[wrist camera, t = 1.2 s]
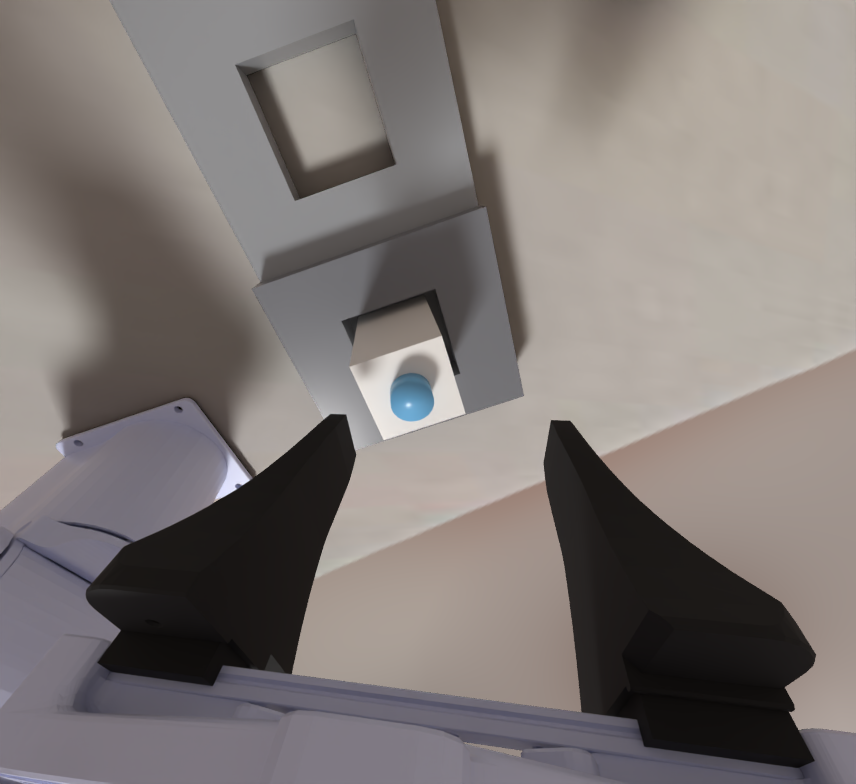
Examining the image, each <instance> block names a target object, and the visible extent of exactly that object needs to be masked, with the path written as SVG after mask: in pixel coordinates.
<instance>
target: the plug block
mask: <svg viewBox="0 0 856 784" xmlns="http://www.w3.org/2000/svg"><path fill="white" fill-rule="evenodd" d="M349 367H350V369H351V371H352V374H353V376H354V378H355V380H356V382H357V384H358V386H359V389H360V391H361V393H362V395H363V397H364V399H365V401H366V404H367V406H368V408H369V410H370V412H371V414H372V416H373V419H374V421H375V423H376V425H377V427H378V429H379V431H380V433H381V436H382V438H383V440H386V439H389V438H392V437H396V436H399V435H402V434H405V433H408V432H411V431H414V430H417V429H420V428H423V427H426V426H430V425H433V424H436V423H439V422H442V421H445V420H448V419H451V418H454V417H457V416H460V415H464V414H466V413H465V410H464V407H463V403H462V400H461V397H460V394H459V390H458V387H457V384H456V381H455V377H454V374H453V371H452V367H451V364H450V361H449V358H448V354H447V351H446V348H445V345H444V341H443V338H442V335H441V333H440V330H439V328H438V326H437V324H436V321H435V319H434V317H433V314H432V312H431V310H430V307H429V305H428V303H427V301H426V298H425V296H424V294H423V295H420V296H417V297H415V298H412V299H409V300H406V301H403V302H400V303H397V304H394V305H391V306H388V307H385V308H382V309H379V310H376V311H374V312H371V313H368V314H365V315H362V316H359V317H358V322H357V327H356V333H355V338H354V344H353V349H352V355H351V360H350V366H349Z"/></svg>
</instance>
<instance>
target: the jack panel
mask: <svg viewBox="0 0 856 784" xmlns="http://www.w3.org/2000/svg"><path fill="white" fill-rule="evenodd" d="M110 2H111V4H112V6H113V8H114V10H115V12H116V13H117V15H118V17H119V19H120V21H121V23H122V25H123V27H124V28H125V30H126V32H127V34H128V36H129V38H130V40H131V41H132V43H133V45H134V47H135V49H136V51H137V53H138V55H139V56H140V58H141V60H142V62H143V64H144V66H145V68H146V69H147V71H148V73H149V75H150V77H151V79H152V81H153V82H154V84H155V86H156V88H157V90H158V92H159V94H160V96H161V97H162V99H163V101H164V103H165V105H166V107H167V109H168V110H169V112H170V114H171V116H172V118H173V120H174V122H175V124H176V125H177V127H178V129H179V131H180V133H181V135H182V137H183V138H184V140H185V142H186V144H187V146H188V148H189V150H190V151H191V153H192V155H193V157H194V159H195V161H196V163H197V165H198V166H199V168H200V170H201V172H202V174H203V176H204V178H205V179H206V181H207V183H208V185H209V187H210V189H211V191H212V193H213V194H214V196H215V198H216V200H217V202H218V204H219V206H220V207H221V209H222V211H223V213H224V215H225V217H226V219H227V220H228V222H229V224H230V226H231V228H232V230H233V232H234V234H235V235H236V237H237V239H238V241H239V243H240V245H241V247H242V248H243V250H244V252H245V254H246V256H247V258H248V260H249V262H250V263H251V265H252V267H253V269H254V271H255V273H256V275H257V276H258V278H259V280H260V282H261V283H259V284H258V285H256V286H255V287H254V288H252V290H253V292H254V294H255V296H256V297H257V299H258V301H259V303H260V305H261V306H262V308H263V310H264V312H265V314H266V315H267V317H268V319H269V321H270V323H271V324H272V326H273V328H274V330H275V332H276V333H277V335H278V337H279V339H280V341H281V343H282V344H283V346H284V348H285V350H286V352H287V353H288V355H289V357H290V359H291V361H292V362H293V364H294V366H295V368H296V370H297V371H298V373H299V375H300V377H301V379H302V380H303V382H304V384H305V386H306V388H307V389H308V391H309V393H310V395H311V397H312V398H313V400H314V402H315V404H316V406H317V408H318V409H319V411H320V413H321V415H322V417H323V418H324V419H325V418H326V417H327V416H329V415H330V414H346V415H347V419H348V423H349V427H350V432H351V436H352V440H353V444H354V448H355V450H359V449H362V448H365V447H368V446H371V445H374V444H377V443H380V442H383V441H386V440H389V439H393V438H396V437H399V436H402V435H405V434H408V433H411V432H414V431H417V430H420V429H423V428H427V427H430V426H433V425H436V424H439V423H442V422H445V421H448V420H451V419H454V418H457V417H461V416H464V415H467V414H470V413H473V412H476V411H479V410H482V409H485V408H488V407H491V406H495V405H498V404H501V403H504V402H507V401H510V400H513V399H516V398H519V397H522V396H524V394H523V389H522V384H521V379H520V374H519V369H518V364H517V359H516V354H515V349H514V344H513V339H512V334H511V329H510V324H509V319H508V314H507V309H506V304H505V299H504V294H503V289H502V284H501V279H500V274H499V269H498V264H497V259H496V254H495V249H494V244H493V239H492V234H491V229H490V224H489V219H488V214H487V209H486V207H484V206H479V205H478V201H477V196H476V191H475V186H474V181H473V177H472V172H471V167H470V162H469V158H468V153H467V148H466V143H465V138H464V134H463V129H462V124H461V119H460V115H459V110H458V105H457V100H456V95H455V91H454V86H453V81H452V76H451V71H450V67H449V62H448V57H447V52H446V48H445V43H444V38H443V33H442V28H441V24H440V19H439V14H438V9H437V5H436V0H110ZM354 34H356V36H357V40H358V43H359V46H360V50H361V53H362V56H363V60H364V63H365V66H366V70H367V73H368V76H369V80H370V83H371V86H372V90H373V93H374V96H375V100H376V103H377V106H378V110H379V113H380V116H381V120H382V123H383V126H384V130H385V133H386V136H387V140H388V143H389V146H390V150H391V153H392V156H393V160H394V163H395V165H394V166H391V167H388V168H385V169H383V170H380V171H377V172H374V173H371V174H369V175H366V176H363V177H360V178H358V179H355V180H352V181H349V182H346V183H344V184H341V185H338V186H335V187H333V188H330V189H327V190H324V191H321V192H319V193H316V194H313V195H310V196H308V197H305V198H302V199H300V198H299V195H298V193H297V191H296V188H295V186H294V184H293V181H292V179H291V177H290V174H289V172H288V170H287V167H286V165H285V163H284V161H283V158H282V156H281V154H280V151H279V149H278V147H277V144H276V142H275V140H274V137H273V135H272V133H271V130H270V128H269V126H268V123H267V121H266V119H265V116H264V114H263V112H262V109H261V107H260V105H259V102H258V100H257V98H256V96H255V93H254V91H253V89H252V86H251V84H250V82H249V79H248V77H247V75H249V74H251V73H254V72H257V71H259V70H262V69H264V68H267V67H270V66H272V65H275V64H278V63H280V62H283V61H285V60H288V59H291V58H293V57H296V56H299V55H301V54H304V53H307V52H309V51H312V50H314V49H317V48H320V47H322V46H325V45H328V44H330V43H333V42H335V41H338V40H341V39H343V38H346V37H349V36H351V35H354ZM423 294H424V296H425V298H426V301H427V303H428V305H429V307H430V310H431V312H432V314H433V317H434V319H435V321H436V324H437V326H438V328H439V330H440V333H441V335H442V338H443V341H444V345H445V348H446V351H447V354H448V358H449V361H450V364H451V367H452V371H453V374H454V377H455V381H456V384H457V387H458V390H459V394H460V397H461V400H462V403H463V407H464V410H465V413H466V414H464V415H460V416H457V417H454V418H451V419H448V420H445V421H442V422H439V423H436V424H433V425H430V426H426V427H423V428H420V429H417V430H414V431H411V432H408V433H405V434H402V435H399V436H396V437H392V438H389V439H386V440H383V438H382V436H381V433H380V431H379V429H378V427H377V425H376V423H375V421H374V419H373V416H372V414H371V412H370V410H369V408H368V406H367V404H366V401H365V399H364V397H363V395H362V393H361V391H360V389H359V386H358V384H357V382H356V380H355V378H354V376H353V374H352V371H351V369H350V367H349V366H350V360H351V355H352V349H353V344H354V338H355V333H356V327H357V322H358V317H359V316H362V315H365V314H368V313H371V312H374V311H376V310H379V309H382V308H385V307H388V306H391V305H394V304H397V303H400V302H403V301H406V300H409V299H412V298H415V297H417V296H420V295H423Z"/></svg>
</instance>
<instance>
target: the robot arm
mask: <svg viewBox="0 0 856 784" xmlns="http://www.w3.org/2000/svg"><path fill="white" fill-rule="evenodd" d="M177 406H179V407H181V408H182V409H183V410H180V409H178V408H177ZM80 441H81V442H80ZM56 448H57V450H58V451H59V452H60V453H62V454H63V455H64V456H65V457H64V458H63V459H62V460H61V461H60V462H58V463H57V464H56V465H55V466H54V467H52V468H51V469H50V470H49V471H48V472H46V473H45V474H44V475H43V476H42V477H40V478H39V479H38V480H37V481H36V482H34V483H33V484H32V485H31V486H30V487H28V488H27V489H26V490H25V491H23V492H22V493H21V494H20V495H19V496H17V497H16V498H15V499H14V500H13V501H11V502H10V503H9V504H8V505H7V506H5V507H4V508H3V509H2V510H1V511H0V784H856V733H850V732H842V731H834V730H827V729H813V728H812V729H802V730H798V728H797V727H796V725H795V723H794V721H793V719H792V717H791V715H790V713H789V712H792V711H794V710H795V708H794V704H793V702H792V700H791V698H790V697H789V695H788V693H787V691H786V689H785V686H787V685H789V684H790V683H791V682H793V681H794V680H796V679H797V678H799V677H800V676H802V675H803V674H804V673H806V672H807V671H808V670H809V669H810V668H811V667H812V666H813V664H814V662H815V657H816V654H815V652H814V651H813V649H812V648H811V646H810V644H809V643H808V641H807V640H806V638H805V636H804V635H803V633H802V631H801V630H800V628H799V626H798V625H797V623H796V622H795V621H794V619H793V618H792V616H791V615H790V613H789V612H788V611H787V609H786V608H785V607H784V605H783V604H782V603H781V602H780V601H778V600H777V599H775V598H773V597H772V596H770V595H769V594H767V593H765V592H764V591H762V590H761V589H759V588H757V587H756V586H754V585H752V584H751V583H749V582H747V581H746V580H744V579H743V578H741V577H739V576H738V575H736V574H735V573H733V572H732V571H730V570H728V569H727V568H726V567H724V566H723V565H721V564H720V563H718V562H717V561H716V560H714V559H713V558H711V557H710V556H708V555H707V554H705V553H704V552H703V551H701V550H700V549H699V548H697V547H696V546H695V545H693V544H692V543H690V542H689V541H688V540H687V539H685V538H684V537H683V536H681V535H680V534H679V533H678V532H676V531H675V530H674V529H672V528H671V527H670V526H669V525H667V524H666V523H665V522H664V521H663V520H661V519H660V518H659V517H658V516H657V515H655V514H654V513H653V512H652V511H651V510H650V509H649V508H648V507H647V506H645V505H644V504H643V503H642V502H641V501H639V499H638V498H637V497H635V496H634V494H632V492H631V491H630V490H629V489H628V488H627V487H626V486H625V485H624V484H623V483H622V482H621V481H620V480H619V479H618V478H617V477H616V476H615V475H614V474H613V473H612V471H611V470H610V469H609V468H608V467H607V466H606V465H605V463H604V462H603V461H602V460H601V459H600V458H599V456H598V455H597V454H596V453H595V452H594V450H593V449H592V448H591V447H590V445H589V444H588V443H587V442H586V440H585V439H584V438H583V437H582V435H581V434H580V433H579V431H578V430H577V429H576V427H575V426H574V425H573V423H572V422H571V421H559V420H551V424H550V429H549V435H548V441H547V447H546V452H545V458H544V472H545V480H546V487H547V493H548V498H549V501H550V506H551V510H552V514H553V518H554V522H555V527H556V530H557V535H558V539H559V543H560V547H561V551H562V555H563V561H564V566H565V573H566V580H567V587H568V594H569V601H570V609H571V617H572V624H573V633H574V642H575V650H576V659H577V669H578V679H579V688H580V700H581V711H582V712H574V711H567V710H560V709H552V708H544V707H537V706H529V705H521V704H514V703H505V702H499V701H491V700H483V699H475V698H468V697H460V696H452V695H445V694H437V693H430V692H422V691H415V690H407V689H399V688H391V687H383V686H377V685H369V684H361V683H353V682H345V681H338V680H331V679H323V678H316V677H307V676H300V675H293V674H292V670H293V664H294V660H295V655H296V651H297V646H298V641H299V637H300V632H301V628H302V624H303V620H304V615H305V611H306V608H307V603H308V599H309V595H310V592H311V588H312V585H313V581H314V577H315V573H316V570H317V566H318V563H319V560H320V556H321V553H322V549H323V546H324V543H325V541H326V538H327V535H328V532H329V530H330V528H331V525H332V523H333V520H334V518H335V515H336V513H337V510H338V508H339V506H340V503H341V501H342V498H343V496H344V493H345V491H346V488H347V486H348V483H349V481H350V477H351V474H352V470H353V466H354V462H355V458H356V452H355V448H354V444H353V440H352V436H351V432H350V427H349V423H348V419H347V415H346V414H330V415H329V416H327V417H326V418H325V419H324V420H323V421H322V422H321V423H319V424H318V425H317V426H316V427H315V428H314V429H313V430H312V431H311V432H309V433H308V434H307V435H306V436H305V437H304V438H303V439H301V440H300V441H299V442H298V443H297V444H296V445H295V446H293V447H292V448H291V449H290V450H289V451H288V452H286V453H285V454H284V455H283V456H281V457H280V458H279V459H278V460H276V461H275V462H274V463H273V464H271V465H270V466H269V467H268V468H266V469H265V470H264V471H262V472H261V473H260V474H258V475H257V476H255V477H254V478H252V477H251V475H250V474H249V473H248V471H247V470H246V469H245V467H244V466H243V465H242V463H241V462H240V461H239V459H238V458H237V457H236V455H235V454H234V453H233V451H232V450H231V449H230V448H229V446H228V445H227V444H226V442H225V441H224V440H223V438H222V437H221V436H220V434H219V433H218V432H217V430H216V429H215V428H214V426H213V425H212V424H211V422H210V421H209V420H208V418H207V417H206V416H205V414H204V413H203V412H202V410H201V409H200V408H199V406H198V405H197V404H196V402H195V401H194V400H192V399H190V398H182V399H179V400H176V401H173V402H171V403H168V404H165V405H162V406H159V407H156V408H153V409H150V410H147V411H144V412H141V413H138V414H135V415H132V416H129V417H126V418H123V419H120V420H117V421H114V422H111V423H109V424H106V425H103V426H100V427H97V428H94V429H91V430H88V431H85V432H82V433H79V434H76V435H73V436H70V437H67V438H64V439H62V440H60V441H59V442H58V443H56ZM239 484H241V485H239ZM222 497H223V498H222ZM218 498H221V499H219V500H218V501H216V502H214V500H215V499H218ZM213 502H214V503H213ZM463 742H468V743H474V744H481V745H488V746H495V747H502V748H508V749H515V750H522V753H521V757H517V756H513V755H509V754H505V753H500V752H496V751H493V750H489V749H484V748H480V747H476V746H472V745H468V744H464V743H463Z"/></svg>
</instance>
